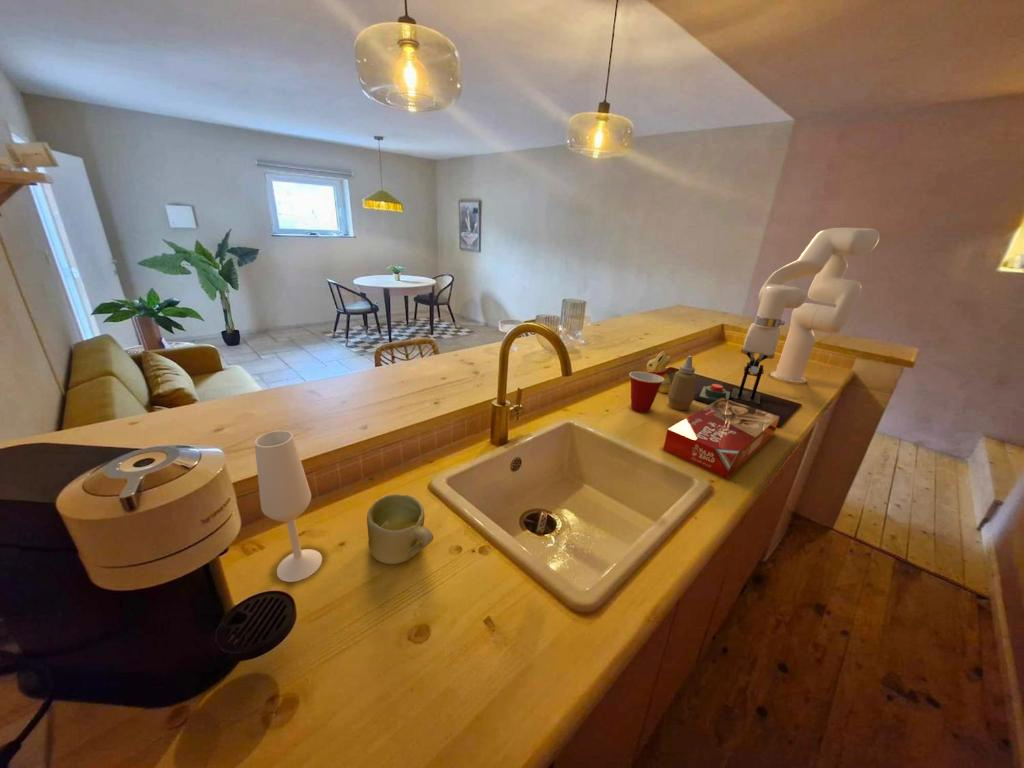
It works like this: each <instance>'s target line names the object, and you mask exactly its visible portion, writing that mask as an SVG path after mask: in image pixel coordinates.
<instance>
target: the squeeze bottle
mask: <svg viewBox="0 0 1024 768" xmlns="http://www.w3.org/2000/svg"><path fill="white" fill-rule="evenodd" d="M695 371H696V367H694V366H693V356H692V355H688V356H687V357H686V360H685V361H684V364H681V365H679V368H678V371H676V372H675V373H674V375H673V378H672V381H671V383H670V390H669V392H668V393H667V399H668V406H669V407H670V408H672V409H674V410H678V411H687V410H688V409H689V408H690V407H691V405H692V403H693V402H694V400H695V399H694V398H695V392H696V391H695V390H696V384H697V383H696V382H697V375H696V374H695Z"/></svg>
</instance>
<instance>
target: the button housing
mask: <svg viewBox="0 0 1024 768" xmlns="http://www.w3.org/2000/svg"><path fill="white" fill-rule="evenodd" d="M711 386H712V385H708V386H705V385H704V386H703V387H702V390H701V391H700V394H699V396H698V400H699V401H704V402H707V403H710V404H712V403H713V402H715V401H717V400H719V399H720V398H724V399H727V400H730V397H731V391H728V390H726V389H725V388H723V389H722V392H717V391H713V390H711Z"/></svg>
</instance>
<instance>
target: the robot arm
mask: <svg viewBox="0 0 1024 768" xmlns="http://www.w3.org/2000/svg"><path fill="white" fill-rule="evenodd" d="M879 241H880V232H879V231H878V230H877V229H876V228H867V227H831V228H826V229H823V230H820V231H819V232H817V233H816V234H815V236H814V237H813V238H812V240H810V242H809V243H808V245H807V246H806V247H805V249H804V251H802V253H801V254H800V256H799V257H798V258H797V260H795V261H792V262H789V263H788V264H786V265H784V266H782V267H780V268H779V269H777V270H776V271H774V272H773V273H772V274H770V276H769V277H768V278H767V279H766V280H765V282H764V284H763V285H762V287H761V288H760V290H759V292H758V301H759V306H758V309H757V312H756V316H755V320H754V322H753V323H751V324H750V326H749V328H748V330H747V332H746V335H745V339H744V342H743V346H742V348H741V350H740V353H741V354H743V355H746V356H747V357H748V358H749V363H751V364H750V368H751V366H755V367H760V363H761V362H763V361H764V360H766V359H772V360H773V359H775V353H776V351H777V347H778V343H779V339H780V334H781V327H780V326H785V324H786V321H784V320H782V317H783V314H784V311H785V309H789V310H792V311H791V316H790V323H789V329H788V333H787V336H786V340H785V342H784V345H783V348H782V352H781V355H780V358H779V360H778V363H777V365H776V369H775V370H774V371H771V372H770V375H769V376H770V377H773V378H777V379H780V380H783V381H788V382H792V383H804V384H805V383H806V382H807V379H806V378H805V377H804V375H805V372H806V368H807V366H808V363H809V360H810V357H811V355H812V352H813V349H814V346H815V344H816V335H815V333H814V331H818V332H823V333H829V334H837V333H840V332H841V330H842V329H843V328H844V327H845V325H846V323H847V322H848V320H849V318H850V316H851V314H852V312H853V310H854V309H855V307H856V306H857V305H856V304H857V302H858V301H859V299H860V297H861V294H862V284H861V283H860V282H859V281H858V280H854V279H848V278H847V279H846V278H844V277H845V274H846V273H847V271H848V267H849V264H848V260H847V259H846V257H845V256H851V257H853V256H854V257H855V256H860V255H861V256H862V255H866V254H869V253H870V252H872V251H873V250H874V249H875V248H876V247H877V245H878V243H879ZM811 276H814V278H813V279H812V282H811V284H810V286H809V288H808V291H807V292H806V291H805V290H804V289H803V288H801V287H797V286H791V285H786V284H785V285H784V283H788V282H789V281H792V280H797V279H802V278H807V277H811ZM807 298H808V299H810V300H811V301H814V302H818V303H824V304H817V303H811V302H806V300H807ZM825 304H831V305H835V307H834V306H829V305H825ZM756 354H759V355H758V356H757V358H756V359H755V355H756ZM750 368H749V369H750Z"/></svg>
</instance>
